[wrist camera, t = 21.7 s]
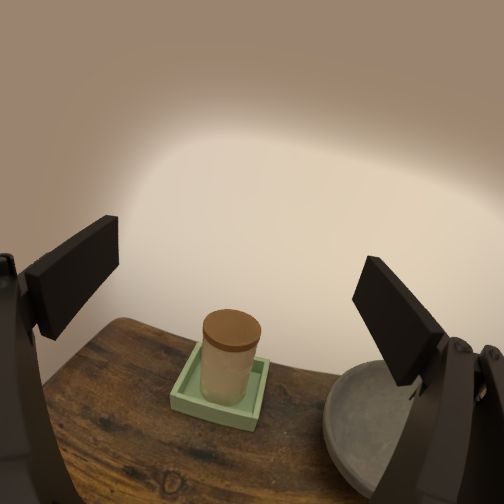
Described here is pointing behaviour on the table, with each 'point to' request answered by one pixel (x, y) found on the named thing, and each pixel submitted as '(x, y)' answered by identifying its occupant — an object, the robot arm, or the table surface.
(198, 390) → the bin
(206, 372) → the tea tin
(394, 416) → the bowl
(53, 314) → the robot arm
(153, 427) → the table surface
